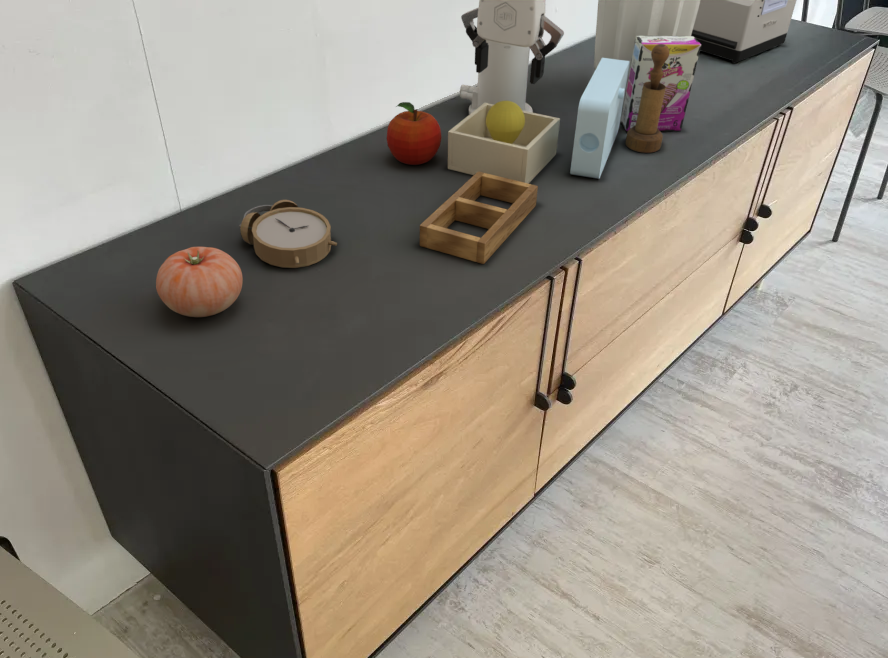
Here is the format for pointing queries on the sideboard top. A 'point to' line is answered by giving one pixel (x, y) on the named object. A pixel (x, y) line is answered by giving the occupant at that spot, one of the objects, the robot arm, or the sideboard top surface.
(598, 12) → the vase
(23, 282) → the sideboard top surface
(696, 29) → the toaster
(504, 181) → the wooden frame
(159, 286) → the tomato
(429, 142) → the fruit
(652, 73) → the mortar and pestle
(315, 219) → the alarm clock
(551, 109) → the sideboard top surface
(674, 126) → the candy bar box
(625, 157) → the sideboard top surface
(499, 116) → the light bulb
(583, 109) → the radio
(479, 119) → the wooden box
